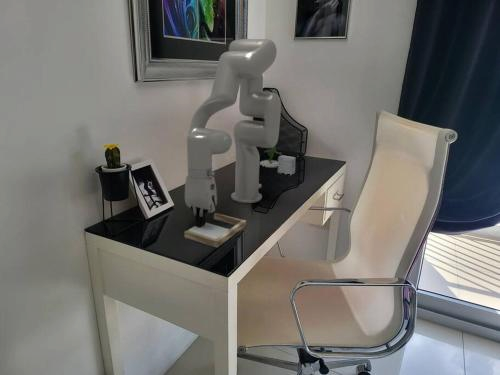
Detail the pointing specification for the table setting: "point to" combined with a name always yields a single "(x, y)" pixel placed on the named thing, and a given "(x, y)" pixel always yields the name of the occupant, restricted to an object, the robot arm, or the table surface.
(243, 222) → the wooden frame
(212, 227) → the hard drive
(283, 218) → the table surface
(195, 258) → the table surface
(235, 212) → the table surface
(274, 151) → the potted plant
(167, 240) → the table surface
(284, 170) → the medicine box
